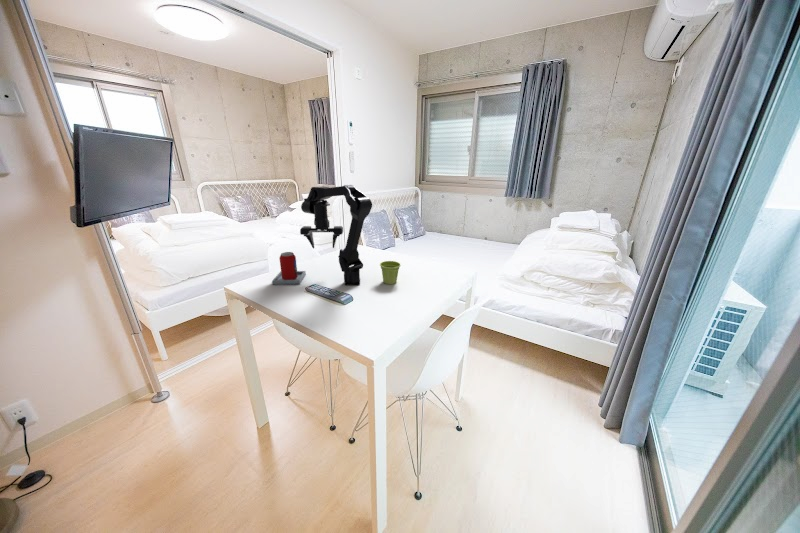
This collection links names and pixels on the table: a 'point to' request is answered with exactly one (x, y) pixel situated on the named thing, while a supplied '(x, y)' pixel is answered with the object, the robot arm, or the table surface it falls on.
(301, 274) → the slate tray
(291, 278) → the beverage can
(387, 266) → the plant pot
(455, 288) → the table surface
